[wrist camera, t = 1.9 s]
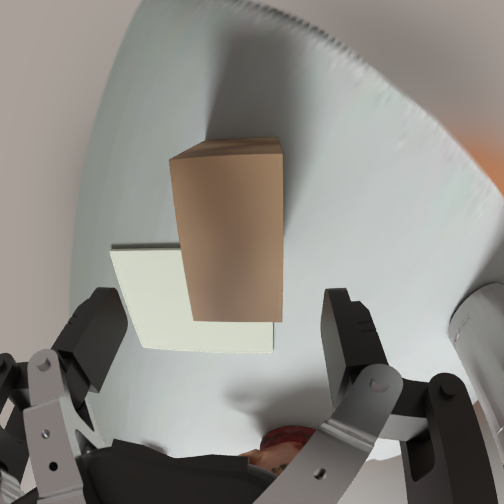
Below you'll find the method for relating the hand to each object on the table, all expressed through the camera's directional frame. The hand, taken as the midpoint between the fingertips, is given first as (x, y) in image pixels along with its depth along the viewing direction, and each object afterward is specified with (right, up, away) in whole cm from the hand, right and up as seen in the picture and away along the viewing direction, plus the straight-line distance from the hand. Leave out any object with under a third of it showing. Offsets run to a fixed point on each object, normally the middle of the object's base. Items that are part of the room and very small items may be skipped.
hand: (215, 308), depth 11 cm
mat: (-4, -3, +16) cm, 17 cm away
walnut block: (+1, +6, +11) cm, 12 cm away
